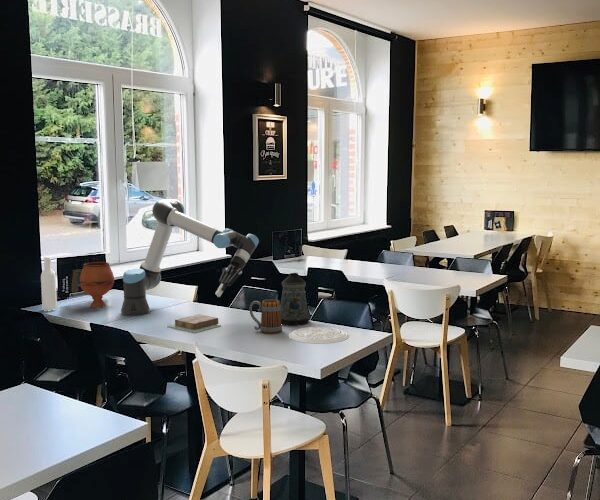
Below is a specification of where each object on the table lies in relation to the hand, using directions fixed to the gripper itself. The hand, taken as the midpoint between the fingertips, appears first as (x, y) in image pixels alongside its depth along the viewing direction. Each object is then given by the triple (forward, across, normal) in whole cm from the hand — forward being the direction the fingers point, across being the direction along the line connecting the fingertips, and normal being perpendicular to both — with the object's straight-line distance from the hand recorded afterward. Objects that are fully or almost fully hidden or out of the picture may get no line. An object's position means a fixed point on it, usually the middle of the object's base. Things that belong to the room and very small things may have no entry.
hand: (217, 295), depth 332 cm
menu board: (+12, 0, -4) cm, 13 cm away
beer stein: (-7, -31, -26) cm, 41 cm away
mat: (+21, 0, +2) cm, 21 cm away
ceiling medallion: (+4, -59, -16) cm, 62 cm away
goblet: (+22, +82, +2) cm, 85 cm away
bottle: (+38, +94, +18) cm, 103 cm away
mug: (+10, -34, -9) cm, 37 cm away
